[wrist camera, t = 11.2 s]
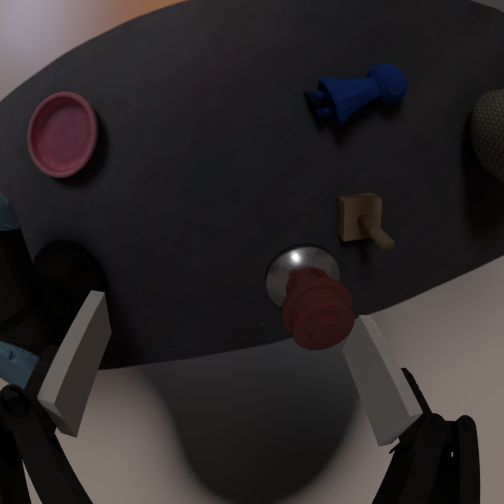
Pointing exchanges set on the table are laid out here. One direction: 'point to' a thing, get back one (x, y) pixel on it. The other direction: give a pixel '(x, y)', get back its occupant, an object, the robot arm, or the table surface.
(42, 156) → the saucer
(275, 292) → the grey round disc
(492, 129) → the planter
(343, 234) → the brown wooden peg block
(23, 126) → the table surface
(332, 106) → the toy
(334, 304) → the mechanical component
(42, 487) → the robot arm
